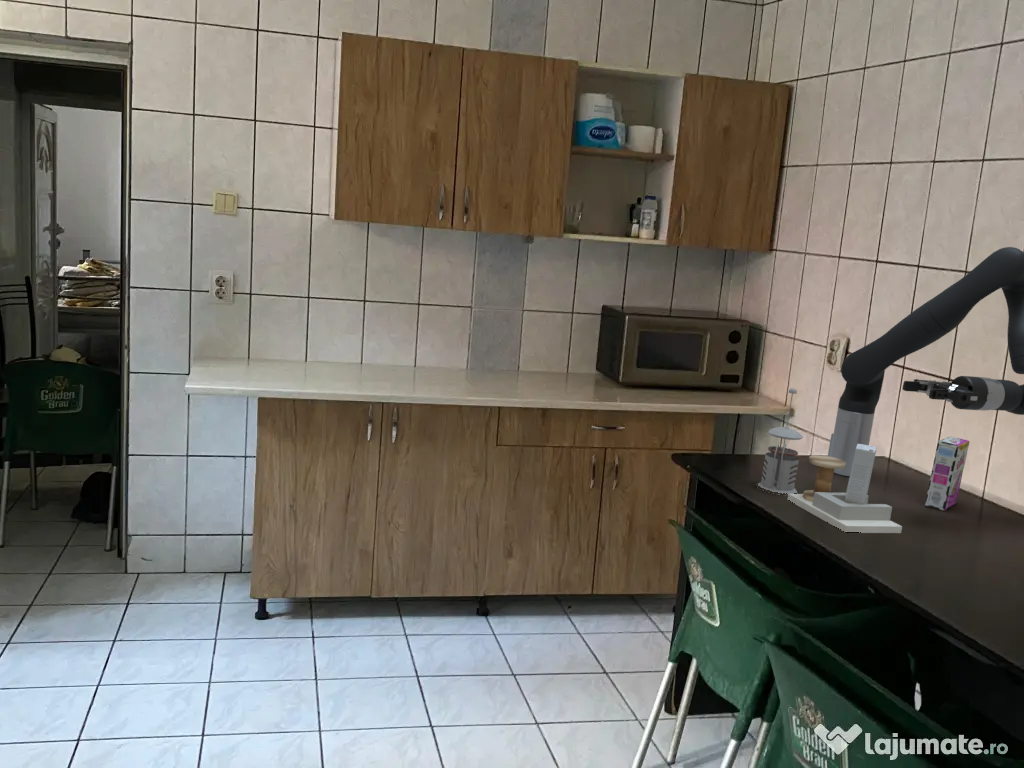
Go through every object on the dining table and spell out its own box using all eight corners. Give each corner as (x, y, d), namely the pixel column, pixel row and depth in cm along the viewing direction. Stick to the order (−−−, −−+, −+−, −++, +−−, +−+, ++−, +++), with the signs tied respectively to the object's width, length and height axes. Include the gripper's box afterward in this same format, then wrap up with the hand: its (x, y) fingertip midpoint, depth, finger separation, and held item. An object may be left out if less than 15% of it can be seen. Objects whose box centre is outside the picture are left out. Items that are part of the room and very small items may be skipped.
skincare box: (846, 494, 208) (855, 442, 205) (867, 498, 206) (877, 446, 204) (844, 500, 202) (853, 447, 200) (865, 505, 200) (875, 451, 198)
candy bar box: (945, 512, 219) (958, 445, 216) (923, 506, 222) (936, 440, 219) (957, 504, 228) (970, 439, 225) (936, 498, 231) (949, 435, 228)
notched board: (787, 499, 215) (790, 481, 214) (838, 500, 219) (841, 482, 218) (845, 532, 194) (849, 512, 193) (900, 533, 198) (904, 513, 197)
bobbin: (795, 493, 215) (802, 454, 213) (825, 494, 217) (831, 455, 216) (816, 504, 208) (822, 464, 206) (846, 505, 210) (853, 465, 208)
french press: (800, 488, 226) (817, 389, 222) (793, 499, 216) (810, 395, 211) (759, 480, 230) (775, 382, 226) (751, 490, 220) (767, 388, 215)
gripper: (956, 371, 214) (898, 367, 209) (1004, 383, 200) (943, 379, 195) (950, 402, 215) (892, 399, 210) (997, 417, 202) (936, 413, 197)
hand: (917, 389), depth 203 cm, fingers open, 8 cm apart
